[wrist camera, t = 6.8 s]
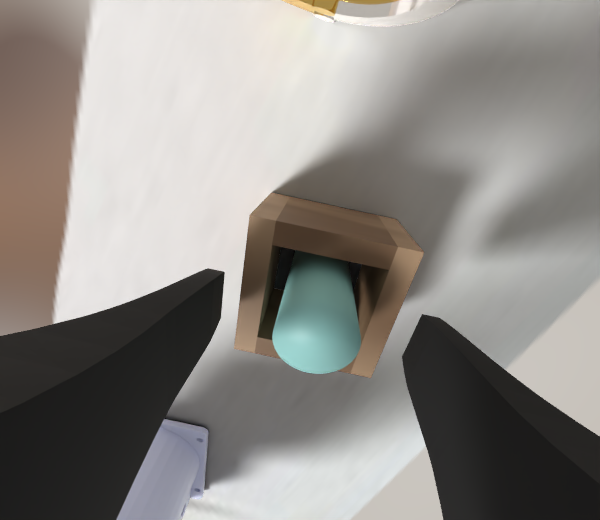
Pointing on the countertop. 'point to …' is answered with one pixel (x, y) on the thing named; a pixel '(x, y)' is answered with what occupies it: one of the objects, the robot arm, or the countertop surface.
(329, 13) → the ring
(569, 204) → the countertop surface
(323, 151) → the countertop surface
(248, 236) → the bead block
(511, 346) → the countertop surface
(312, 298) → the teal cylinder
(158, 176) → the countertop surface
